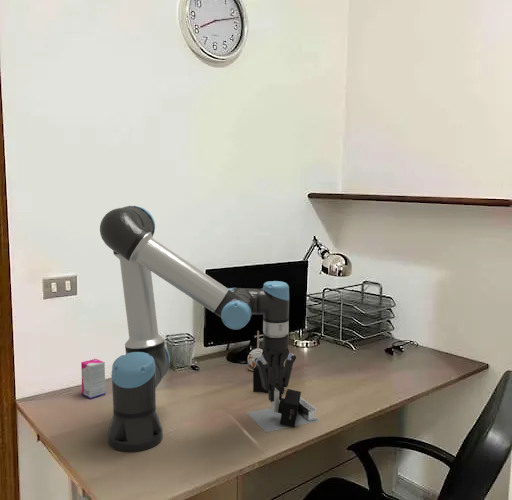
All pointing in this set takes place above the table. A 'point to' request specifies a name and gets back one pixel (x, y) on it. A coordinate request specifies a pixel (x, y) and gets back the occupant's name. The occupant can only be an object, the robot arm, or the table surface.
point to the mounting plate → (274, 420)
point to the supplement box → (93, 378)
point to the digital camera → (289, 407)
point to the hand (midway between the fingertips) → (274, 410)
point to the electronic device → (257, 380)
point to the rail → (306, 410)
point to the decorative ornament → (254, 355)
